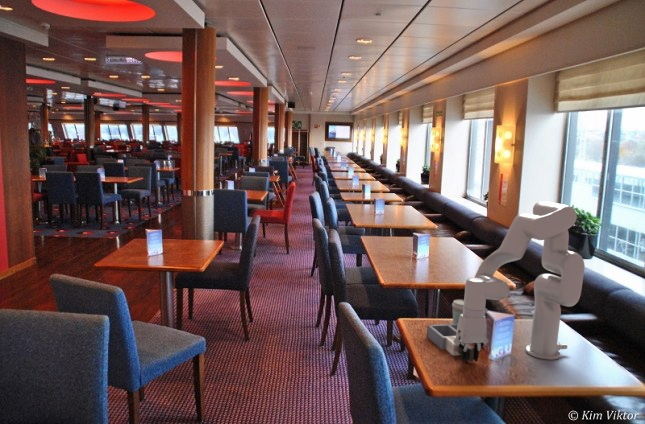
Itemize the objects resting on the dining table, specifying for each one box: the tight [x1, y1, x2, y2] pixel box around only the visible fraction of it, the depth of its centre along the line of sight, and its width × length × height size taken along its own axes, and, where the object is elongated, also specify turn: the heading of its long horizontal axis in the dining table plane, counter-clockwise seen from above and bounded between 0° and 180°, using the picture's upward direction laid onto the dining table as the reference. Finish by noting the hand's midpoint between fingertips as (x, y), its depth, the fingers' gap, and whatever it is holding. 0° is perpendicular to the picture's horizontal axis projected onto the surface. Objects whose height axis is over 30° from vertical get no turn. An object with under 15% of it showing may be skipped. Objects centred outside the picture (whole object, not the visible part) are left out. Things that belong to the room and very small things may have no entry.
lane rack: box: [426, 323, 458, 351], centre depth 214 cm, size 18×14×5 cm
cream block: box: [444, 336, 474, 363], centre depth 201 cm, size 6×16×6 cm, turn 14°
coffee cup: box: [451, 299, 464, 324], centre depth 229 cm, size 8×9×12 cm
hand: (469, 359), depth 195 cm, fingers open, 3 cm apart
